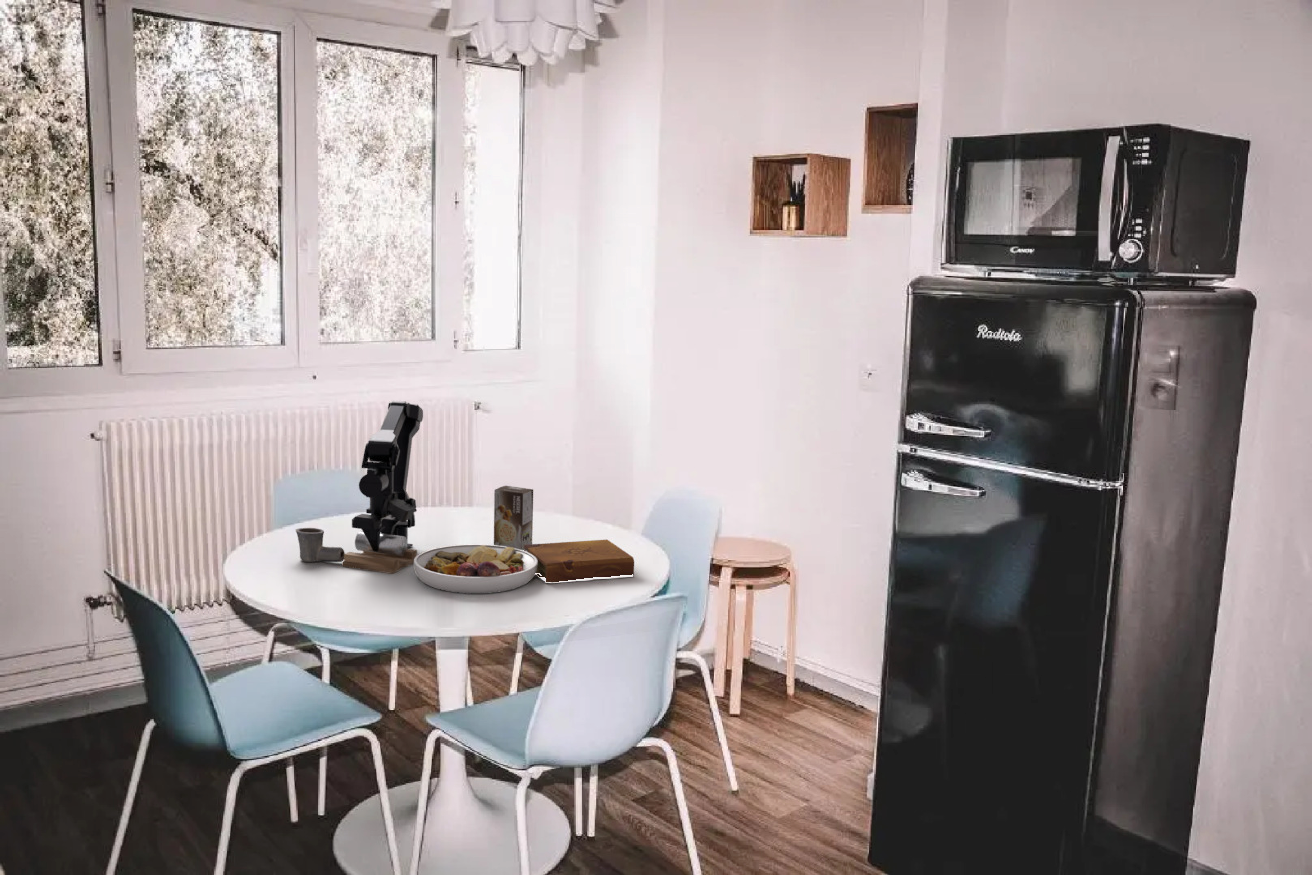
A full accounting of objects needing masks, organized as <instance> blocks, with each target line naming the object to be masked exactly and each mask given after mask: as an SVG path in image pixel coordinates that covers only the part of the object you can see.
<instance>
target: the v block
mask: <svg viewBox="0 0 1312 875" xmlns="http://www.w3.org/2000/svg"><path fill="white" fill-rule="evenodd" d="M417 555H418V550H417V549H411V548H407V550H406V552H405V554H404V555H403V556H396V555H388V554H381V553H374V552H366V551H362V552H353V551H348V552H345V554H344V560H343V561H342V567H343V568H349V569H358V570H365V571H370V572H371V571H372V572H378V573H379V572H380V573H386V574H392V575H393V574H395V573H397V572H399V571H401V570H402V569H405V568H406V567H408V565H409V566H410V565H414V559H415V557H416V556H417Z"/></svg>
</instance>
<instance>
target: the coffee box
mask: <svg viewBox="0 0 1312 875" xmlns="http://www.w3.org/2000/svg"><path fill="white" fill-rule="evenodd" d="M493 494H494V498H493V499H494V501H493V502H494V504H493V506H494V508H493V545H497V546H505V547H511V548H512V547H513V548H516V549H520V550H524V551H526V550H525V549H524V545H530V544H533V528H534V527H533V519H534V518H533V517H534V514H533V513H534V488H532V489H531V488H525V487H517V486H511V485H510V486H509V485H503V486H499V487H497V488H495V489H494V493H493Z"/></svg>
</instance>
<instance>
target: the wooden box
mask: <svg viewBox="0 0 1312 875" xmlns="http://www.w3.org/2000/svg"><path fill="white" fill-rule="evenodd" d="M524 549H525V550H524V551H526V552H528V553H530V554H532V555H534V556H535V557H536V558H537V560H538V567H537V571H536V573H540V574H541V575H542V576H540V575H539V574H537V575H538V576H539V577H545V578H546V582H559V581H568V580H576V579H584V578H593V577H611V576H620V575H632V574H633V575H634V574H635V573H634V572H635V559H634V557H633V556H632V555H630V554H629V553H628V552H626V551H625V550H623V549H622V548H620V547H619V546H617V545H616V544H615V543H613V542H611V541H610V540H608V539H596V540H595V539H593V540H579V541H565V542H564V541H562V542H549V543H548V542H546V543H534V544H533V543H532V544H530V545H524ZM538 576H537V577H538ZM539 577H538V578H539Z"/></svg>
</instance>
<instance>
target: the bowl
mask: <svg viewBox="0 0 1312 875" xmlns="http://www.w3.org/2000/svg"><path fill="white" fill-rule="evenodd" d="M537 567H538V560H537V558H536V557H535V556H534V555H532V554H530V553H528V552H527V550H524V551H523V550H520V549H516V548H513V547H512V548H511V547H505V546H497V545H494V544H480V543H474V544H473V543H472V544H454V545H445V546H440V547H435V548H430V549H428V550H425V551H422V552H421V553H419V554H417V556H416V557H415V559H414V563H413V568H414V569H413V570H414V572H415V575H416V576H417V578H418V579H419V580H421V581H422V582H423V583H424V584H426V585H428V586H429V587H431V588H434V589H437V590H440V589H441V591H444V590H446V591H445V592H450V591H451V593H457V592H459V594H471V593H481V594H491V593H490V592H495V593H500V592H499V591H502V592H506V591H505V590H508V591H511V589H512V590H514V588H515V589H518V588H520V587H522V586H524V585H526V584H527V583H529V582H530V581H531V580H532V579H533V578H534V577H535V576H536V575H535V573H536V571H537ZM517 587H518V588H517Z"/></svg>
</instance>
